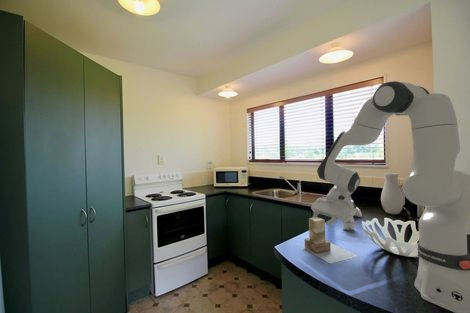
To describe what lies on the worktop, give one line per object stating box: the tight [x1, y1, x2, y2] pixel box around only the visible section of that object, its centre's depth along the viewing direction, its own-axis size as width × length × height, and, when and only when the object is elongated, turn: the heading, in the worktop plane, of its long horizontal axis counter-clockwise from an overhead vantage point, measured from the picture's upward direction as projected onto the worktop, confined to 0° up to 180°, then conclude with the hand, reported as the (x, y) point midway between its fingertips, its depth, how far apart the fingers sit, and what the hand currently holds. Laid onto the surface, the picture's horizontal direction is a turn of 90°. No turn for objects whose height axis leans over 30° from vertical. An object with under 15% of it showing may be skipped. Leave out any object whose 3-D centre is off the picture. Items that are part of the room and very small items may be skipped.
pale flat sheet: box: [302, 242, 360, 264], centre depth 98 cm, size 18×16×1 cm
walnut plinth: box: [304, 238, 331, 254], centre depth 101 cm, size 8×8×4 cm
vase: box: [380, 172, 404, 215], centre depth 162 cm, size 14×14×30 cm
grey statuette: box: [341, 195, 356, 231], centre depth 129 cm, size 6×7×20 cm
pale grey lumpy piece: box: [351, 199, 362, 218], centre depth 157 cm, size 12×11×12 cm
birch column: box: [308, 216, 326, 243], centre depth 101 cm, size 5×5×10 cm
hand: (320, 222), depth 102 cm, fingers open, 8 cm apart
